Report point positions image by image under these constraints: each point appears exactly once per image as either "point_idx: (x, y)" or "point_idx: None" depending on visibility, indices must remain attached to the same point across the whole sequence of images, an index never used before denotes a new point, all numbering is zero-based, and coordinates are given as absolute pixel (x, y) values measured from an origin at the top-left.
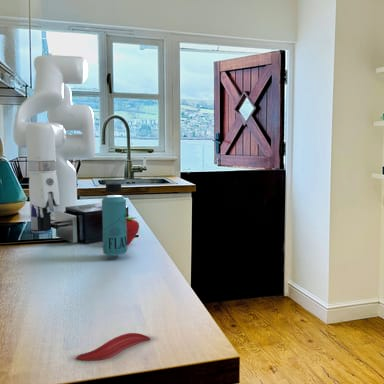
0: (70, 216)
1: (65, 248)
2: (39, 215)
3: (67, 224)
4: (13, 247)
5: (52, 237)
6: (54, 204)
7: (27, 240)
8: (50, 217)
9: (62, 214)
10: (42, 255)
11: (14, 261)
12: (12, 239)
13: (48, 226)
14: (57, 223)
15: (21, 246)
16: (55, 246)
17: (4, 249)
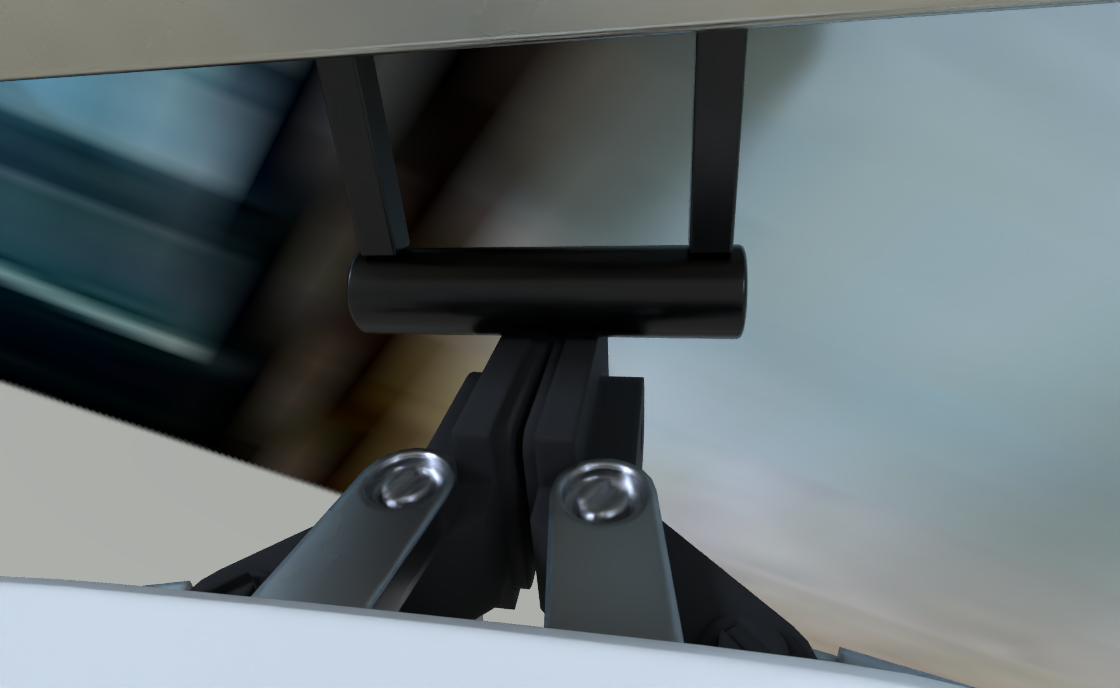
0: (993, 10)
1: (896, 156)
2: (482, 604)
3: (743, 39)
4: None
5: None
6: (616, 676)
7: (249, 310)
8: (575, 426)
9: (388, 51)
10: (958, 453)
11: (930, 639)
12: (157, 386)
13: (642, 391)
14: (379, 115)
15: None
16: None
17: None
